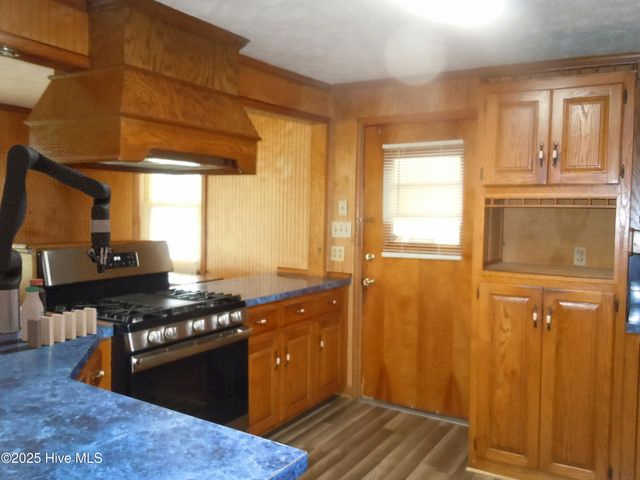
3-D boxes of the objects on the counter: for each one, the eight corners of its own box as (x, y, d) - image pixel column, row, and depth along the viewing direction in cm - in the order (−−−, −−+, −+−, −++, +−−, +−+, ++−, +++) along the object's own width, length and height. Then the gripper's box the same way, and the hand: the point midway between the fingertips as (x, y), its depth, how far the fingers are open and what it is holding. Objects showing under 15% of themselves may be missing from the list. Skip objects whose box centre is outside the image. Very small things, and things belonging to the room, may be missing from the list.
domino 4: (72, 339, 202) (72, 313, 201) (63, 338, 204) (62, 312, 203) (76, 338, 203) (75, 312, 203) (66, 337, 205) (66, 311, 205)
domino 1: (37, 348, 188) (37, 320, 187) (27, 347, 190) (27, 319, 189) (41, 347, 189) (41, 319, 189) (31, 346, 191) (31, 318, 191)
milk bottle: (37, 342, 197) (36, 288, 196) (16, 341, 198) (15, 288, 197) (48, 337, 205) (47, 285, 204) (28, 336, 205) (27, 285, 204)
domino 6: (93, 334, 211) (93, 309, 210) (83, 333, 213) (83, 308, 212) (96, 333, 212) (96, 308, 212) (87, 332, 214) (86, 307, 214)
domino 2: (49, 345, 193) (49, 318, 192) (40, 344, 195) (39, 317, 194) (53, 344, 194) (53, 317, 194) (43, 343, 196) (43, 316, 196)
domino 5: (83, 336, 206) (82, 311, 206) (73, 335, 208) (73, 310, 208) (86, 336, 208) (86, 310, 207) (77, 334, 210) (76, 309, 209)
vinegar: (29, 325, 225) (28, 278, 224) (47, 324, 227) (46, 278, 226) (26, 329, 219) (25, 280, 218) (44, 328, 221) (43, 280, 220)
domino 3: (61, 342, 197) (61, 315, 197) (51, 341, 199) (51, 314, 199) (65, 341, 199) (64, 315, 198) (55, 340, 201) (55, 313, 200)
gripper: (106, 230, 224) (106, 271, 224) (80, 231, 212) (81, 274, 212) (119, 230, 221) (120, 272, 222) (94, 231, 209) (95, 275, 209)
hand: (101, 273), depth 217 cm, fingers closed
